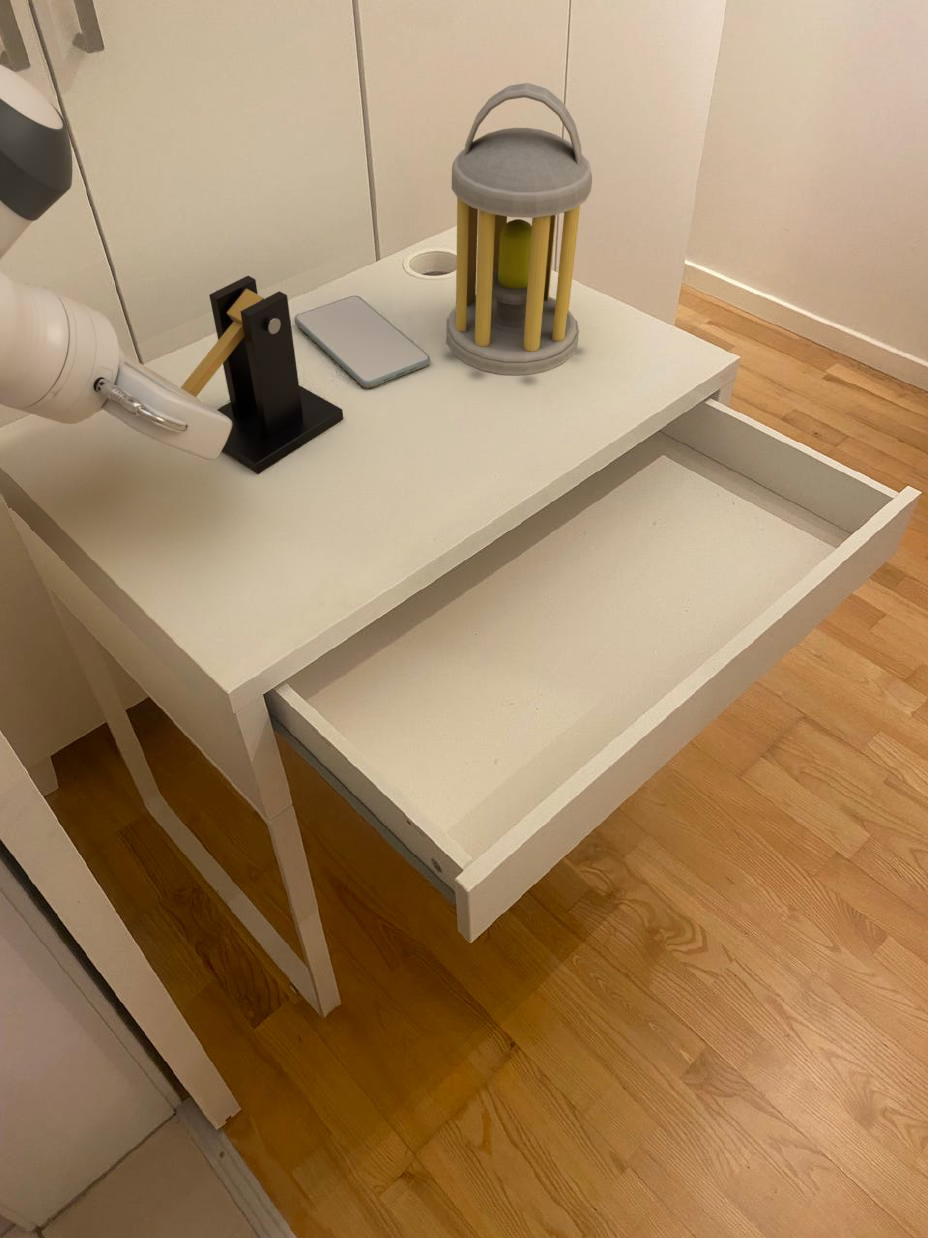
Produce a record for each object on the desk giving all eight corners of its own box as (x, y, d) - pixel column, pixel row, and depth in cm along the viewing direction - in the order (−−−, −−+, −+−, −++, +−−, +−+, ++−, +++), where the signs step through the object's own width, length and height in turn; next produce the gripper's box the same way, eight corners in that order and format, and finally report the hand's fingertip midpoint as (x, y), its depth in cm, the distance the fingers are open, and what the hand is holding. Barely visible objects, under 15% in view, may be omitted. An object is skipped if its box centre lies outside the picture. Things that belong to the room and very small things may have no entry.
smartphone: (365, 384, 95) (290, 315, 103) (365, 392, 96) (291, 323, 104) (434, 357, 99) (357, 292, 106) (434, 366, 99) (357, 300, 107)
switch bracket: (258, 474, 87) (233, 340, 77) (194, 433, 91) (162, 301, 81) (343, 419, 93) (331, 287, 83) (280, 383, 97) (261, 253, 86)
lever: (200, 428, 82) (185, 413, 80) (163, 405, 84) (148, 390, 82) (286, 320, 83) (274, 302, 81) (248, 300, 85) (235, 282, 83)
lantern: (435, 367, 99) (433, 110, 80) (457, 296, 108) (460, 52, 90) (572, 381, 98) (602, 123, 79) (582, 309, 107) (611, 63, 88)
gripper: (166, 375, 66) (288, 424, 78) (-1, 273, 74) (133, 332, 87) (128, 457, 67) (255, 493, 79) (-32, 347, 76) (105, 395, 88)
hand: (190, 408), depth 83 cm, fingers closed on lever, 5 cm apart
